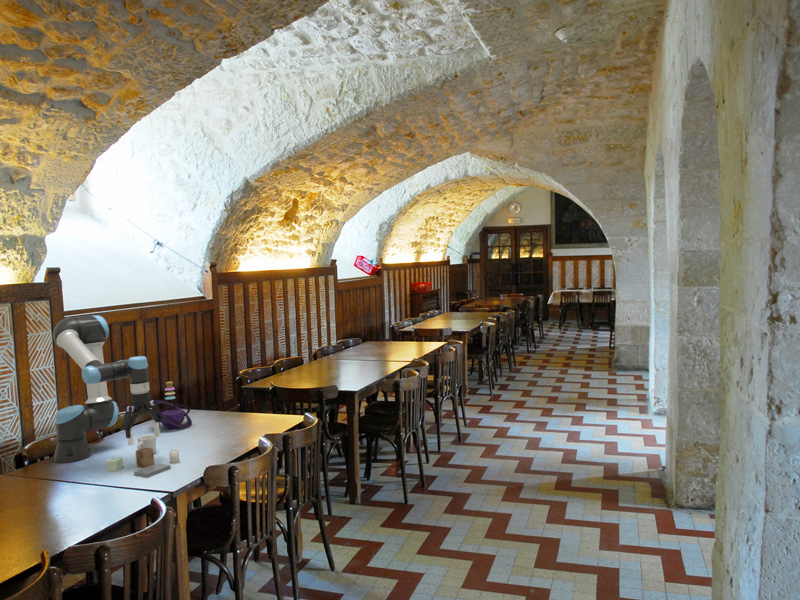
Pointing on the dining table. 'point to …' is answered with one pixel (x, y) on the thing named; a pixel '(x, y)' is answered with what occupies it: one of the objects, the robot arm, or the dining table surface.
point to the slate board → (152, 470)
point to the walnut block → (145, 457)
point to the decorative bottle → (173, 411)
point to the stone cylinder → (174, 456)
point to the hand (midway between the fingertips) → (144, 440)
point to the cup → (147, 442)
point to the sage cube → (114, 464)
